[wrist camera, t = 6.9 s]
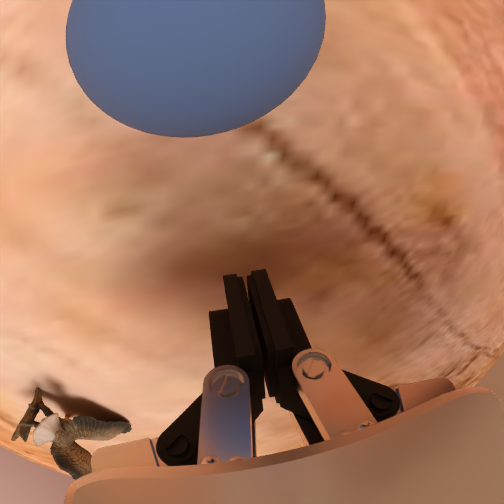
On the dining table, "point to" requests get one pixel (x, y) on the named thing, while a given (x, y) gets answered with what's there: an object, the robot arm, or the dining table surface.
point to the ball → (192, 59)
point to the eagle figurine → (66, 435)
